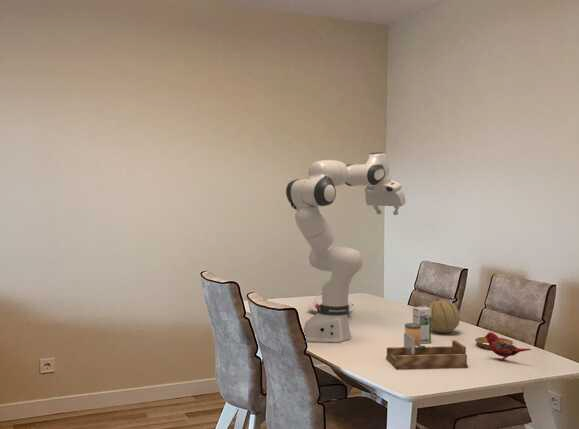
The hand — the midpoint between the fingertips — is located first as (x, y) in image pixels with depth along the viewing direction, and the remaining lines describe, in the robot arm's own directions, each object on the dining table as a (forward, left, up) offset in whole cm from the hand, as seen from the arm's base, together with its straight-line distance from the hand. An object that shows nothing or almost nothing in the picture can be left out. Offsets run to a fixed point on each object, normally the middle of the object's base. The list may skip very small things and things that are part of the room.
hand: (387, 214), depth 294 cm
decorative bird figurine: (+28, -66, -52) cm, 88 cm away
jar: (-3, -50, -52) cm, 72 cm away
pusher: (-7, -66, -51) cm, 83 cm away
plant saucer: (+33, -44, -52) cm, 76 cm away
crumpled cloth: (-20, +27, -52) cm, 62 cm away
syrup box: (+6, -34, -52) cm, 62 cm away
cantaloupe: (+21, -18, -52) cm, 59 cm away
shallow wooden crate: (-3, -66, -52) cm, 84 cm away
